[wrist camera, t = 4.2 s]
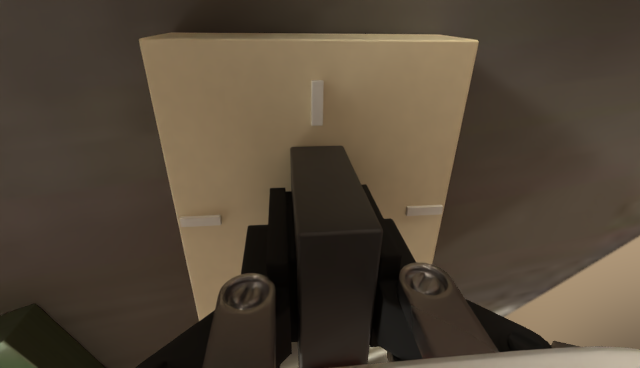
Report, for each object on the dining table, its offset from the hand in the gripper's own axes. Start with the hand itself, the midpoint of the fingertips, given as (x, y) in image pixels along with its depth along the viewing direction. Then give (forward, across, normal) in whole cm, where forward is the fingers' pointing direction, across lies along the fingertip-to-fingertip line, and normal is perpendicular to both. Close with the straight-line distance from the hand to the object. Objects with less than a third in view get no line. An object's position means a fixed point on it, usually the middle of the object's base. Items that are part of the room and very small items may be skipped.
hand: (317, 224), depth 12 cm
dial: (+1, 0, 0) cm, 1 cm away
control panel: (+4, 0, 0) cm, 4 cm away
